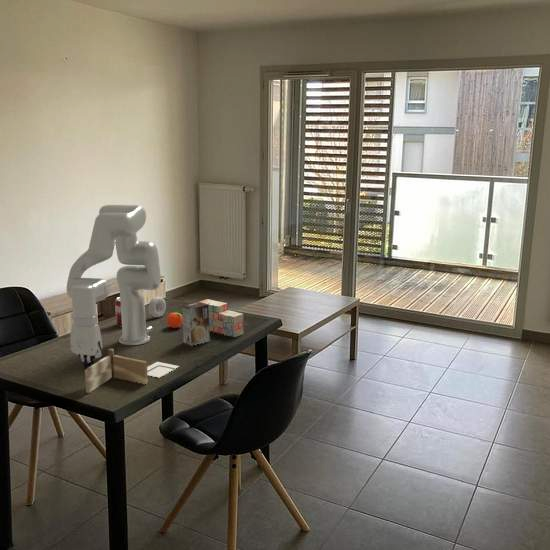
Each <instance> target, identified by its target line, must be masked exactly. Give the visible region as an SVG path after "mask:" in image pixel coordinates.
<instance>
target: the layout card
mask: <svg viewBox="0 0 550 550" xmlns="http://www.w3.org/2000/svg"><path fill="white" fill-rule="evenodd" d="M178 367H179V368H180V366H179V365H176V364H175V365H174V364H170V363H165V362H160V361H156V362H154V363H152V364H150V365H147V373H148V377H151V376H152V377H151V378H155V377H157V378H156V379H160V377H161V378H162V376H163V377H164V376H166V375H168V374H170V373H172V372H173V371H175V370H177V369H178ZM176 368H177V369H176ZM171 371H172V372H171ZM169 372H170V373H169Z"/></svg>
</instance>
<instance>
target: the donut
mask: <svg viewBox="0 0 550 550" xmlns="http://www.w3.org/2000/svg"><path fill="white" fill-rule="evenodd" d="M157 305H158V309H156V307H157ZM166 308H167V304H166V301H165V298H163V297H161V296H155V297H152V298H151V299H150V301H149V303H148V313H149V315H150V316H151V317H152V318H154V319H155V318H157V317H158V318H161V317H162V316H163V315H164V314H165V312H166Z"/></svg>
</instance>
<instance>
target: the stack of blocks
mask: <svg viewBox="0 0 550 550" xmlns="http://www.w3.org/2000/svg"><path fill="white" fill-rule="evenodd" d="M199 302H202V303H205V304H208V309H209V330H210V331H209V332H211V331H214V332H213V333H215V332H217V333H216V334H219V333H220V334H219V335H222V334H224V335H223V336H226V335H227V336H226V337H230V336H231V337H230V338H233V337H234V338H237V337H240V336H243V335H244V313H242V312H237V311H233V310H229V308H228V307H229V304H228V303H227V302H223V301H217V300H213V299H209V298H207V299H204V300H200V301H199Z"/></svg>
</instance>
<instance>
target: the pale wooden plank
mask: <svg viewBox="0 0 550 550" xmlns="http://www.w3.org/2000/svg"><path fill="white" fill-rule="evenodd" d="M84 378H85V379H84V380H85V390H86V391H85V392H86V393H87V394H88V393H89V394H91V393H92V392H93V391H94V390H96V389H97V388H99V387H100V386H102V385H103V384H104V383H106V382H107V381H109V380H110V379H111V378H113V377H112V369H111V356H108V355H106V356H104V357H103V358H102V359H99V360H98V361H97V362H95V363H94V364H93V365H92V366H90V367H88V368H87V369H85V373H84Z"/></svg>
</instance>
